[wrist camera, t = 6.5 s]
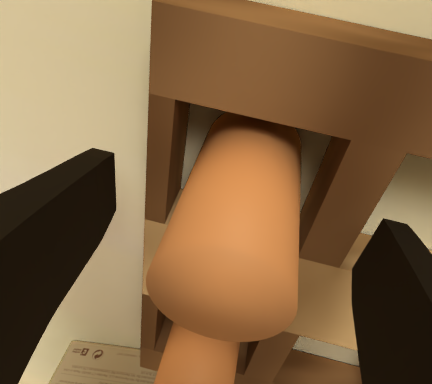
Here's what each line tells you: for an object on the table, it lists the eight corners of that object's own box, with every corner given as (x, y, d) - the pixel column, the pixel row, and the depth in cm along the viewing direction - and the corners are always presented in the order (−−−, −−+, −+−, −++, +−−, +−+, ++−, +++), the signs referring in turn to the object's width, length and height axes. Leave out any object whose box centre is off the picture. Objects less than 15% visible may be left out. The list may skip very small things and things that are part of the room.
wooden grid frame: (649, 86, 9) (721, 124, 7) (356, 388, 20) (360, 427, 19) (177, -15, 9) (152, 0, 8) (152, 332, 21) (140, 366, 19)
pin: (251, 291, 17) (231, 437, 12) (238, 327, 19) (216, 464, 14) (185, 274, 17) (140, 412, 12) (179, 311, 19) (138, 441, 14)
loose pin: (315, 121, 11) (322, 273, 6) (284, 197, 13) (272, 356, 8) (215, 94, 11) (151, 226, 7) (199, 174, 13) (141, 318, 9)
